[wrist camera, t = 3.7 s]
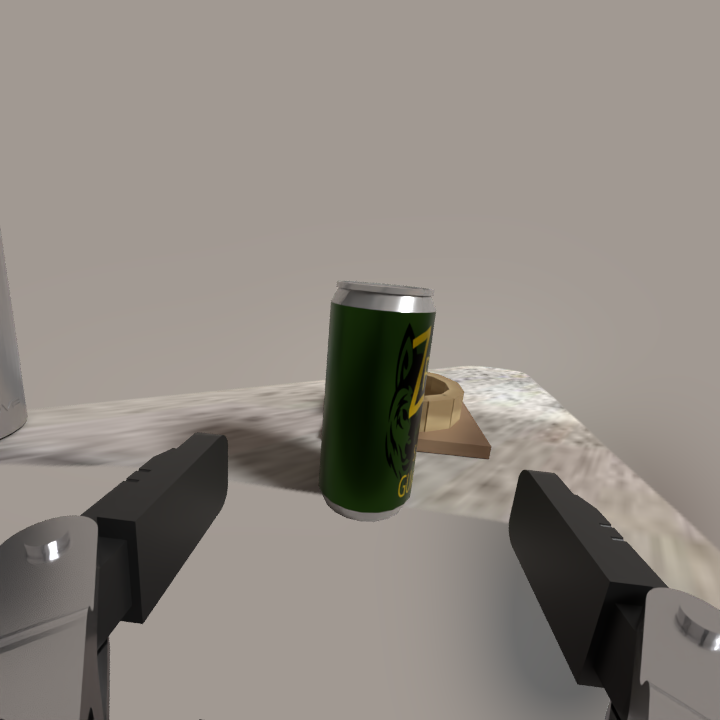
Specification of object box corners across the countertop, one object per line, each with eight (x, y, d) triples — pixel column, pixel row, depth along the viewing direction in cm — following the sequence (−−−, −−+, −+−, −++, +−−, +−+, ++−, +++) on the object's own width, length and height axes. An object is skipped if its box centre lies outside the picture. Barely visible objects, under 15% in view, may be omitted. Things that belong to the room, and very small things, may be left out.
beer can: (308, 518, 18) (323, 281, 15) (326, 464, 24) (339, 279, 21) (412, 532, 18) (447, 292, 15) (407, 474, 23) (432, 288, 20)
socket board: (328, 441, 27) (331, 397, 26) (344, 390, 38) (346, 359, 38) (488, 458, 26) (497, 414, 25) (456, 402, 38) (461, 370, 37)
